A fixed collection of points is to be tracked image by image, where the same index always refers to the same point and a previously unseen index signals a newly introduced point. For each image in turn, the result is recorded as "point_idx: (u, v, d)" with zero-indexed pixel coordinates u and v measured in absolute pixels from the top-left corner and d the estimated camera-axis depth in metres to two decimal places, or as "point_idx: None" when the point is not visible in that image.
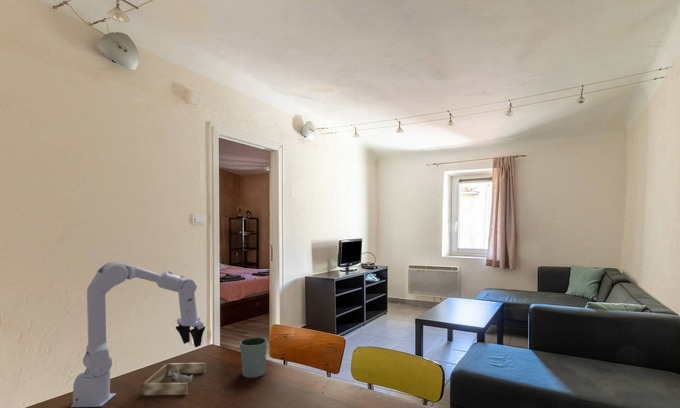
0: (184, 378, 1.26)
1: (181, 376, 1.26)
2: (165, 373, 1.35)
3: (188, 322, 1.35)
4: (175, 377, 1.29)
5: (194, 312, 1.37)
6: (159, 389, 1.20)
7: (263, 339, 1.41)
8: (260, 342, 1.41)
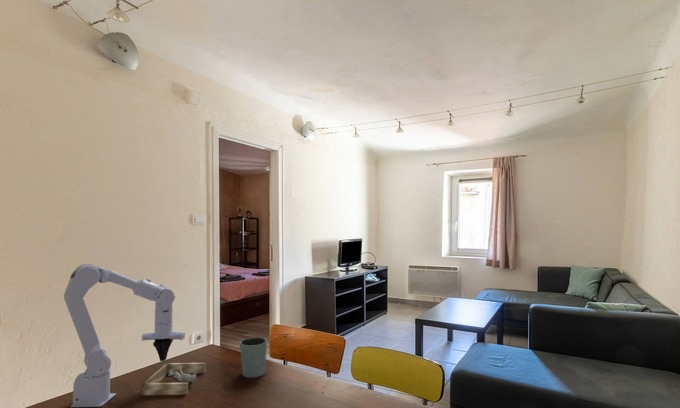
0: (187, 377, 1.27)
1: (184, 375, 1.27)
2: (165, 373, 1.35)
3: (167, 334, 1.28)
4: (177, 376, 1.29)
5: None
6: (159, 389, 1.20)
7: (263, 339, 1.41)
8: (260, 342, 1.41)
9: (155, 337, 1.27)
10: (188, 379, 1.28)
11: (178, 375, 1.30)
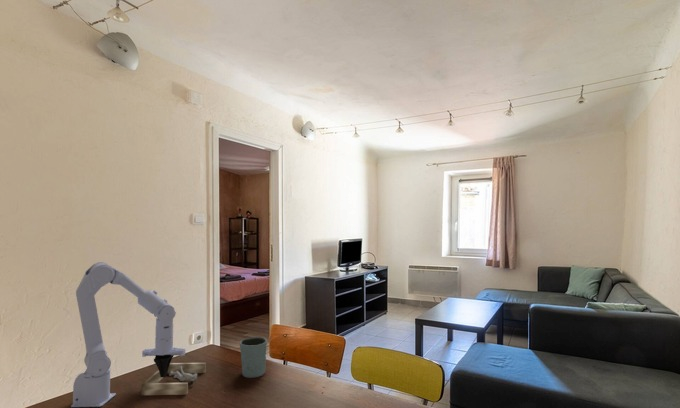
0: (188, 376, 1.28)
1: (185, 374, 1.28)
2: None
3: (168, 350, 1.28)
4: (178, 376, 1.30)
5: (172, 339, 1.30)
6: (159, 389, 1.20)
7: (263, 339, 1.41)
8: (260, 342, 1.41)
9: (156, 353, 1.27)
10: (189, 378, 1.28)
11: (179, 375, 1.30)
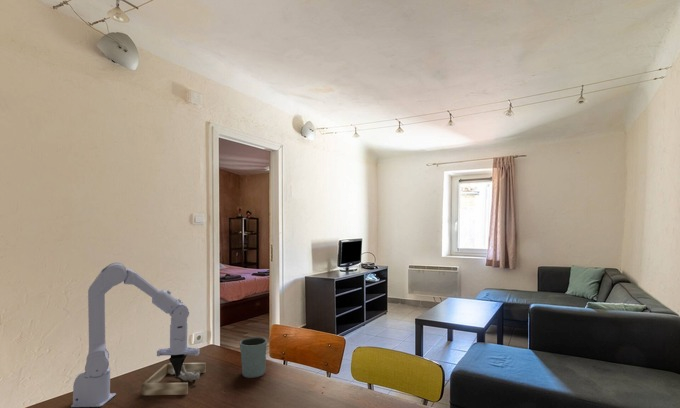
0: (191, 375, 1.28)
1: (188, 373, 1.28)
2: (165, 373, 1.35)
3: (182, 350, 1.28)
4: (180, 375, 1.30)
5: None
6: (159, 389, 1.20)
7: (263, 339, 1.41)
8: (260, 342, 1.41)
9: (170, 353, 1.27)
10: (192, 377, 1.29)
11: (181, 374, 1.31)
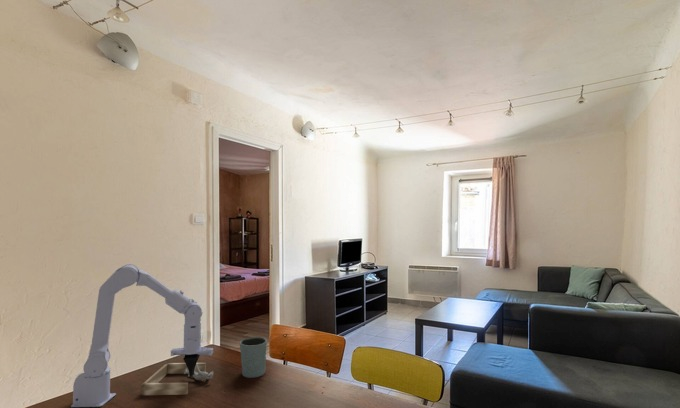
0: (205, 374, 1.29)
1: (202, 373, 1.29)
2: (165, 373, 1.35)
3: (196, 349, 1.28)
4: (194, 374, 1.30)
5: (200, 338, 1.31)
6: (159, 389, 1.20)
7: (263, 339, 1.41)
8: (260, 342, 1.41)
9: (184, 353, 1.27)
10: (205, 377, 1.29)
11: (194, 373, 1.31)
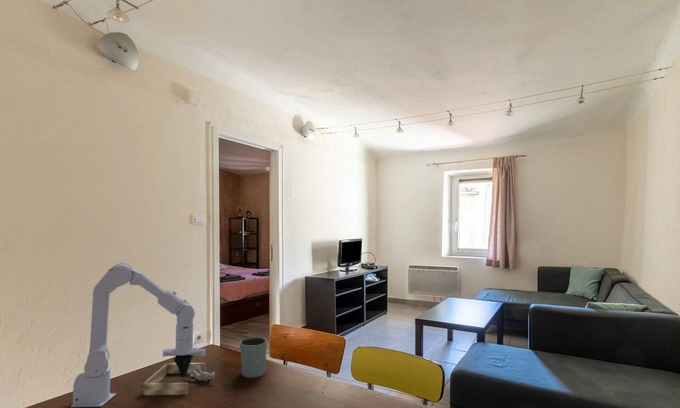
0: (206, 375, 1.29)
1: (203, 373, 1.29)
2: (165, 373, 1.35)
3: (188, 350, 1.28)
4: (195, 375, 1.30)
5: (192, 339, 1.30)
6: (159, 389, 1.20)
7: (263, 339, 1.41)
8: (260, 342, 1.41)
9: (176, 353, 1.27)
10: (207, 377, 1.29)
11: (196, 374, 1.31)
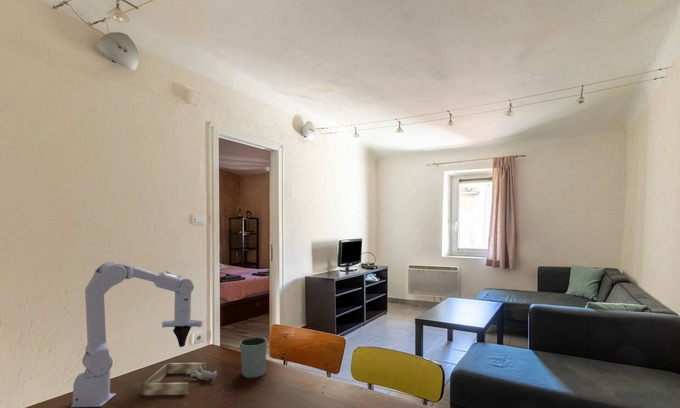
0: (208, 374, 1.29)
1: (205, 372, 1.29)
2: (165, 373, 1.35)
3: (186, 321, 1.36)
4: (197, 374, 1.31)
5: (190, 311, 1.38)
6: (159, 389, 1.20)
7: (263, 339, 1.41)
8: (260, 342, 1.41)
9: (175, 324, 1.35)
10: (209, 376, 1.30)
11: (197, 373, 1.31)
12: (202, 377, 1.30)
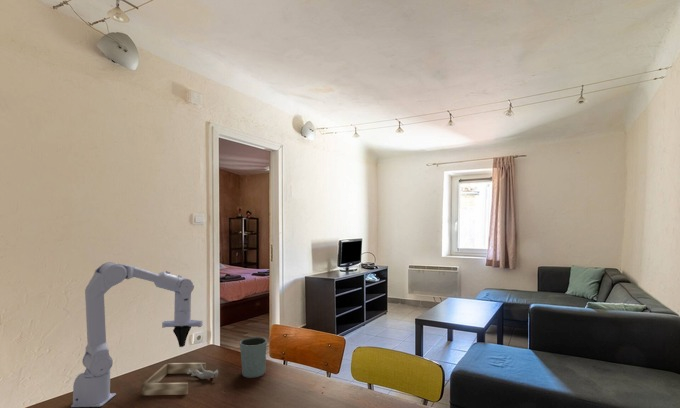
0: (210, 373, 1.30)
1: (207, 372, 1.30)
2: (165, 373, 1.35)
3: (186, 321, 1.36)
4: (198, 374, 1.31)
5: (190, 311, 1.38)
6: (159, 389, 1.20)
7: (263, 339, 1.41)
8: (260, 342, 1.41)
9: (175, 324, 1.35)
10: (210, 375, 1.30)
11: (198, 372, 1.32)
12: (203, 376, 1.31)
